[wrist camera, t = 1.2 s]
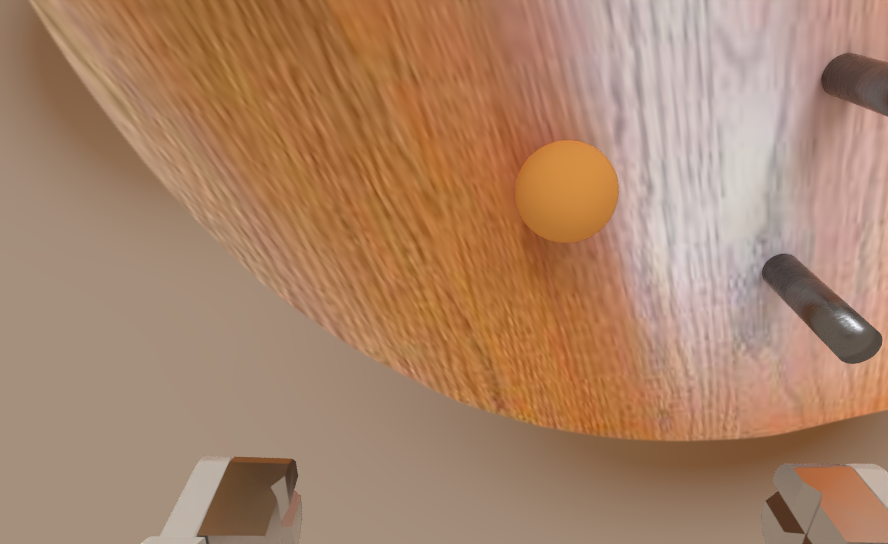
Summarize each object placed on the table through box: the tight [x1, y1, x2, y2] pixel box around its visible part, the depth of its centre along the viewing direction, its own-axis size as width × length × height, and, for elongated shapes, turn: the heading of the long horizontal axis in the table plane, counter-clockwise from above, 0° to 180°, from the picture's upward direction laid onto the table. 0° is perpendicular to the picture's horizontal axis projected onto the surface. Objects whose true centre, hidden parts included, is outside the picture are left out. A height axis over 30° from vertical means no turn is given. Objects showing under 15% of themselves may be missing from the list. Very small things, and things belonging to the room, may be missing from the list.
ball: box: [515, 140, 619, 243], centre depth 35 cm, size 6×6×6 cm
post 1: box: [762, 254, 882, 364], centre depth 37 cm, size 2×2×9 cm
